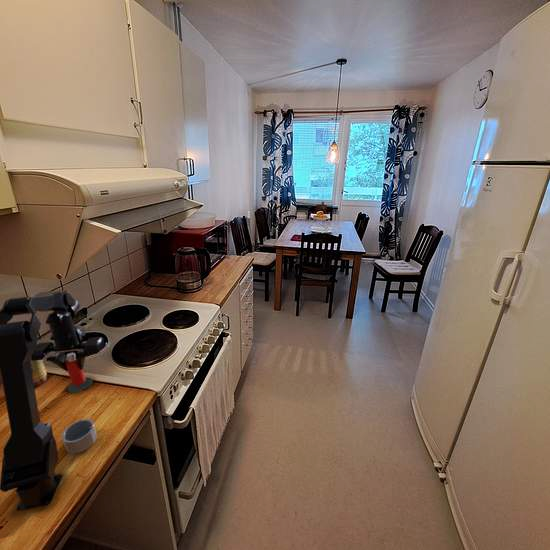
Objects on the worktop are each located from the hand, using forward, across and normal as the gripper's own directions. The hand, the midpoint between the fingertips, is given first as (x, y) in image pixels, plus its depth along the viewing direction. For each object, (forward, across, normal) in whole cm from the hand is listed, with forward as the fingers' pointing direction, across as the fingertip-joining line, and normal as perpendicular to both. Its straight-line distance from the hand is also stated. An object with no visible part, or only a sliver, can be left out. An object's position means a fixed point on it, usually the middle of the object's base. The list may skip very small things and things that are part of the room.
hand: (75, 369), depth 93 cm
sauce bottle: (+7, +15, -5) cm, 17 cm away
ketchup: (+5, 0, 0) cm, 5 cm away
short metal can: (+7, -9, +23) cm, 25 cm away
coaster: (+7, 0, 0) cm, 7 cm away
